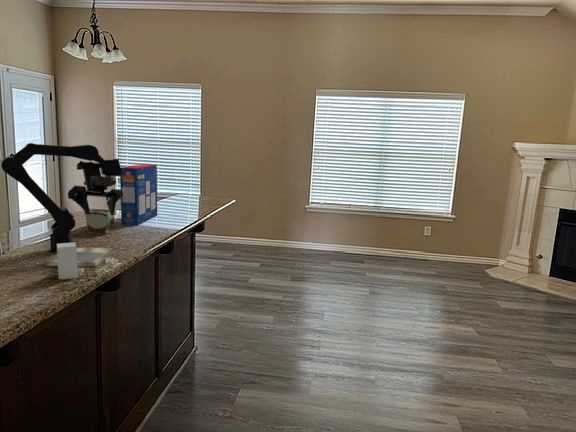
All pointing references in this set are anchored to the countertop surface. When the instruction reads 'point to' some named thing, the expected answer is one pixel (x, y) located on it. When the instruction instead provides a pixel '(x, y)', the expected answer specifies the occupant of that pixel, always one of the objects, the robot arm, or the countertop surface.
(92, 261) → the board
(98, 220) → the food container
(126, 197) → the pasta box
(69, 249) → the grey post
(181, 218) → the countertop surface
